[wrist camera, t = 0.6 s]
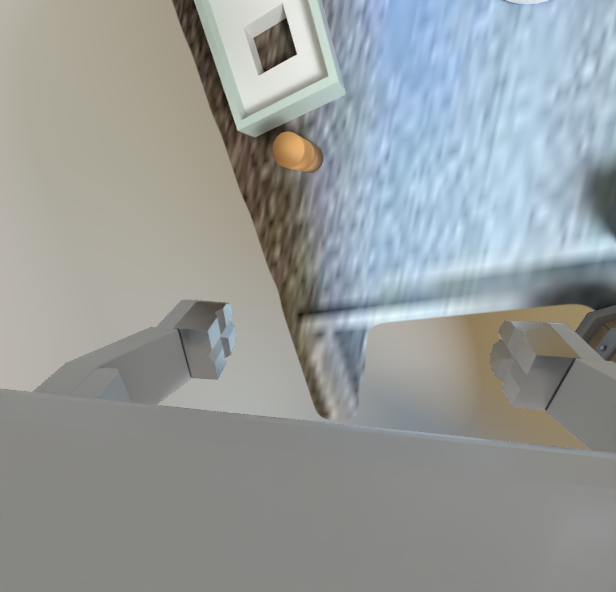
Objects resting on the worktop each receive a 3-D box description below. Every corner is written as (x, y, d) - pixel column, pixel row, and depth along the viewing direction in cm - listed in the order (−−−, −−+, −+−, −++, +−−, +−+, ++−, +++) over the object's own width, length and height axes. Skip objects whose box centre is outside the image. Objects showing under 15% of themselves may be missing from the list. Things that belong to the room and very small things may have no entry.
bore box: (212, 8, 45) (188, -16, 40) (307, -57, 39) (292, -93, 34) (255, 137, 48) (237, 130, 43) (346, 94, 43) (338, 81, 38)
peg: (301, 140, 47) (276, 127, 38) (326, 148, 46) (306, 136, 37) (294, 168, 48) (269, 162, 39) (318, 175, 47) (298, 171, 38)
